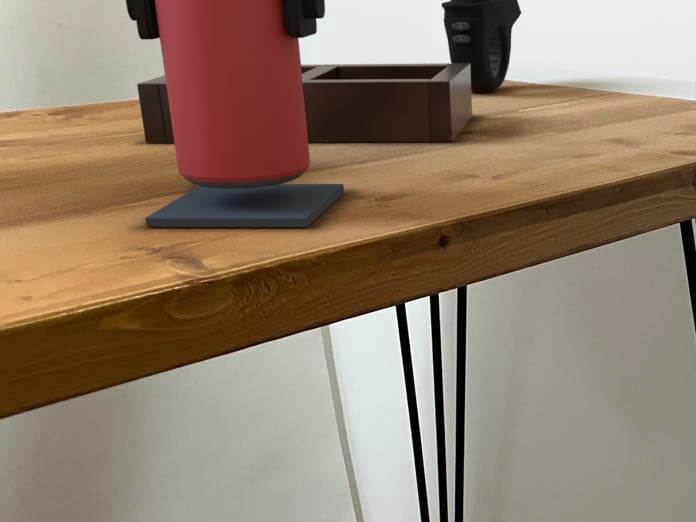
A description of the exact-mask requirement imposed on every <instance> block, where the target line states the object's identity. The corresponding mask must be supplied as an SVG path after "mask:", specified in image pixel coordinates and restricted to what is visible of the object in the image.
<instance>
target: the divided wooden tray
mask: <svg viewBox="0 0 696 522" xmlns="http://www.w3.org/2000/svg"><path fill="white" fill-rule="evenodd" d="M301 71H302V82H303V92H304V103H305V114H306V124H307V135H308V143H430V142H431V143H437V142H438V143H451V142H453V141H454V140H455V139H456V137H457V136H458V135H459V134H460V132H461V131H462V130H463V129H464V127H465V126H466V125H467V123H469V121H470V120H471V118H472V117H473V99H472V98H473V97H472V91H471V70H470V63H452V64H451V62H448V63H447V62H446V63H445V62H444V63H346V64H345V63H342V64H339V63H337V64H336V63H335V64H333V63H332V64H331V63H330V64H325V63H324V64H301ZM136 86H137V87H136V88H137V93H138V100H139V106H140V107H139V108H140V113H141V119H142V125H143V133H144V140H145V143H146V144H166V143H168V144H175V143H174V136H173V129H172V121H171V114H170V107H169V100H168V93H167V86H166V79H165V74H164V75H162V76H157V77H153V78H151V79H148V80H145V81H141V82H139V83H137V84H136Z"/></svg>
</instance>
